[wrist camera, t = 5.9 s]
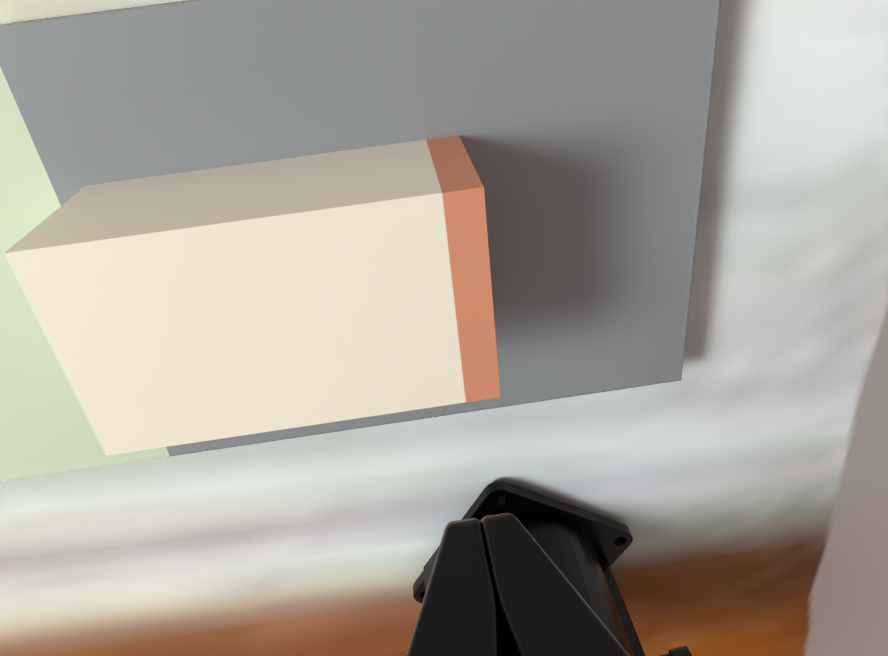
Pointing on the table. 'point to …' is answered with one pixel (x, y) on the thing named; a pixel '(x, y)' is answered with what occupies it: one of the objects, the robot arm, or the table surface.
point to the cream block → (268, 294)
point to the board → (375, 124)
